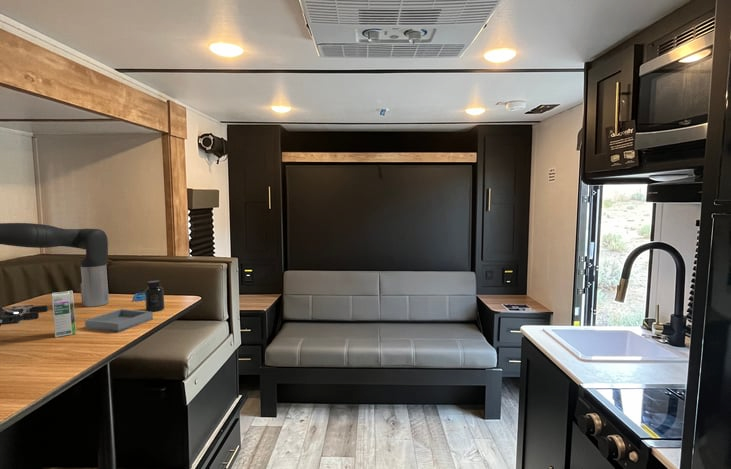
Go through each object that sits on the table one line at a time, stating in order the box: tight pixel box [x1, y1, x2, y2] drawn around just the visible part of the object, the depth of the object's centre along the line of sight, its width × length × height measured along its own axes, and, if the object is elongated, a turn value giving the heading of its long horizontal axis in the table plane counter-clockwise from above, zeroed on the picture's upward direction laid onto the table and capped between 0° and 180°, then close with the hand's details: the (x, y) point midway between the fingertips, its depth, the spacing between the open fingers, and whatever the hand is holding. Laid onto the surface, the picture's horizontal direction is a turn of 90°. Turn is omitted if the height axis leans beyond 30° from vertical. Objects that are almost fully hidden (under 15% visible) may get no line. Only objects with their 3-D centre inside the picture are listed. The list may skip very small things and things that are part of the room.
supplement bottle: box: [144, 280, 165, 313], centre depth 164 cm, size 7×7×12 cm
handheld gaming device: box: [132, 292, 145, 302], centre depth 186 cm, size 8×1×15 cm
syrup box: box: [51, 290, 77, 338], centre depth 135 cm, size 6×6×14 cm
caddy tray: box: [84, 308, 154, 333], centre depth 146 cm, size 15×15×3 cm
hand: (42, 311), depth 133 cm, fingers open, 8 cm apart
